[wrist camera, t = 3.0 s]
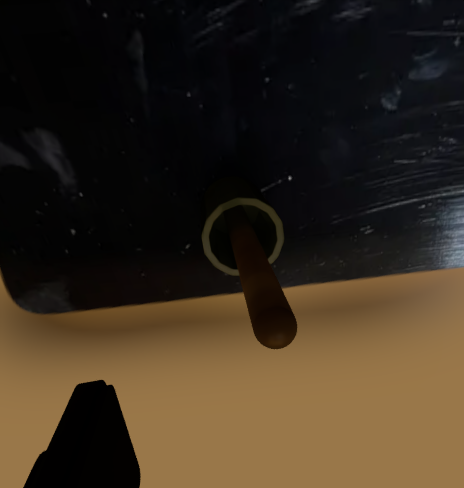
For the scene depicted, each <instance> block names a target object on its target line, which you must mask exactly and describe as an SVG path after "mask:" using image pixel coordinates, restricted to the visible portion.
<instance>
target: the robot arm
mask: <svg viewBox="0 0 464 488" xmlns="http://www.w3.org/2000/svg"><path fill="white" fill-rule="evenodd" d="M139 487H140V468H139V464H138V461H137V458H136V455H135V452H134V448H133V445H132V442H131V439H130V436H129V433H128V430H127V426H126V423H125V420H124V417H123V414H122V411H121V408H120V404H119V401H118V398H117V395H116V392H115V389H114V387H113V385H106V383H105V382H104V380H98V381H93V382H87V383H81V384H78V385H77V386H76V387H75V389H74V391H73V393H72V396H71V398H70V400H69V402H68V405H67V407H66V409H65V411H64V413H63V415H62V418H61V420H60V422H59V424H58V426H57V428H56V431H55V433H54V435H53V437H52V439H51V442H50V444H49V446H48V448H47V450H46V451H44V452H42V453H41V454H40V455H39V457H38V458H37V460H36V462H35V464H34V466H33V468H32V470H31V472H30V474H29V476H28V479H27V481H26V483H25V485H24V487H23V488H139Z"/></svg>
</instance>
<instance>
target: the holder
mask: <svg viewBox="0 0 464 488" xmlns="http://www.w3.org/2000/svg"><path fill="white" fill-rule="evenodd" d="M237 205H242V206H243V208H244V210H245V212H246V214H247V216H248V218H249V221H250V223H251V225H252V227H253V229H254V231H255V233H256V235H257V238H258V240H259V242H260V244H261V246H262V248H263V250H264V252H265V255H266V257H267V259H268V261H269V263H270V265H271V264H272V263H273V262H274V261H275V260H276V259H277V258H278V256H279V254H280V251H281V248H282V245H283V243H284V231H283V223H282V221H281V219H280V218H279V216H278V215H277V213H276V212H275V210H274V209H273V207H272V206H271V205H270V204H269V202H268V201H267V200H266V198H265V197H264V196H263V194H262V193H261V192H260V191H259V189H258V188H257V187H256V185H254V184H253V183H252V182H250V181H249V180H247V179H245V178H242V177H237V176H228V177H223V178H221V179H219V180H217V181H215V182H214V183H212V184H211V185H210V186H209V187H208V189H207V190H206V191H205V193H204V195H203V198H202V202H201V208H200V210H201V238H202V243H203V249H204V253H205V255H206V256H207V258H208V259H209V260H210V262H211V263H212V264H213V265H214V267H216V268H217V269H219V270H221V271H223V272H225V273H227V274H229V275H233V276H239V272H238V268H237V264H236V260H235V256H234V252H233V248H232V245H231V241H230V237H229V233H228V229H227V225H226V221H225V217H224V213H223V211H225V210H227V209H230V208H232V207H235V206H237Z"/></svg>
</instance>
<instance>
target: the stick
mask: <svg viewBox="0 0 464 488" xmlns="http://www.w3.org/2000/svg"><path fill="white" fill-rule="evenodd" d="M223 213H224V217H225V221H226V225H227V229H228V233H229V237H230V241H231V245H232V248H233V252H234V256H235V260H236V264H237V268H238V272H239V276H240V280H241V284H242V288H243V292H244V296H245V300H246V303H247V308H248V311H249V316H250V319H251V323H252V327H253V331H254V334H255V336H256V338H257V340H258V341H259V342H260V343H261V344H262V345H264V346H266V347H268V348H271V349H281V348H284V347H286V346H287V345H289V344H290V343H291V342H292V341H293V339H294V338H295V336H296V332H297V322H296V319H295V316H294V314H293V312H292V310H291V308H290V305H289V304H288V301H287V299H286V297H285V295H284V293H283V291H282V289H281V286H280V284H279V282H278V280H277V278H276V276H275V274H274V272H273V269H272V267H271V265H270V263H269V261H268V259H267V257H266V255H265V252H264V250H263V248H262V246H261V244H260V242H259V240H258V238H257V235H256V233H255V231H254V229H253V227H252V225H251V223H250V221H249V218H248V216H247V214H246V212H245V210H244V208H243V206H242V205H237V206H235V207H232V208H230V209H227V210H225V211H223Z"/></svg>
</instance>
